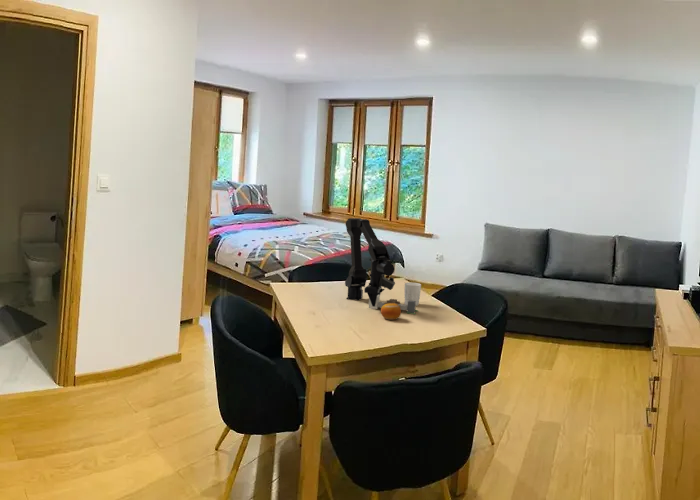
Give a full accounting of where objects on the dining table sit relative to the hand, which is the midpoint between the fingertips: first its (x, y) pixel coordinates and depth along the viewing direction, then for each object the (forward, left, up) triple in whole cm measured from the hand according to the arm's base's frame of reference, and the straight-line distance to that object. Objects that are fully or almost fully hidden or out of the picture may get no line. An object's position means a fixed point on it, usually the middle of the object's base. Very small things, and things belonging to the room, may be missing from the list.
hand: (374, 305), depth 285 cm
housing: (+12, 0, -1) cm, 13 cm away
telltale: (+17, 0, -1) cm, 17 cm away
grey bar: (+7, 0, -1) cm, 7 cm away
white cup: (+14, +16, -2) cm, 21 cm away
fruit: (+12, -17, -2) cm, 21 cm away
